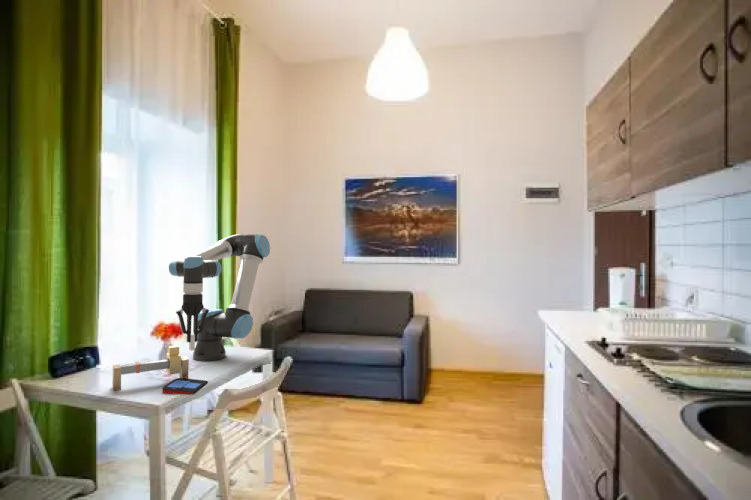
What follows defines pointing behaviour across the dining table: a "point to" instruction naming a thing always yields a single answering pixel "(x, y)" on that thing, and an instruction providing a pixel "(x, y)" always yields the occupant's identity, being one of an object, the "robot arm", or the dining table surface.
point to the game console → (184, 386)
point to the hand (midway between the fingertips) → (191, 349)
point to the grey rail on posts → (145, 369)
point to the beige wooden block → (174, 360)
